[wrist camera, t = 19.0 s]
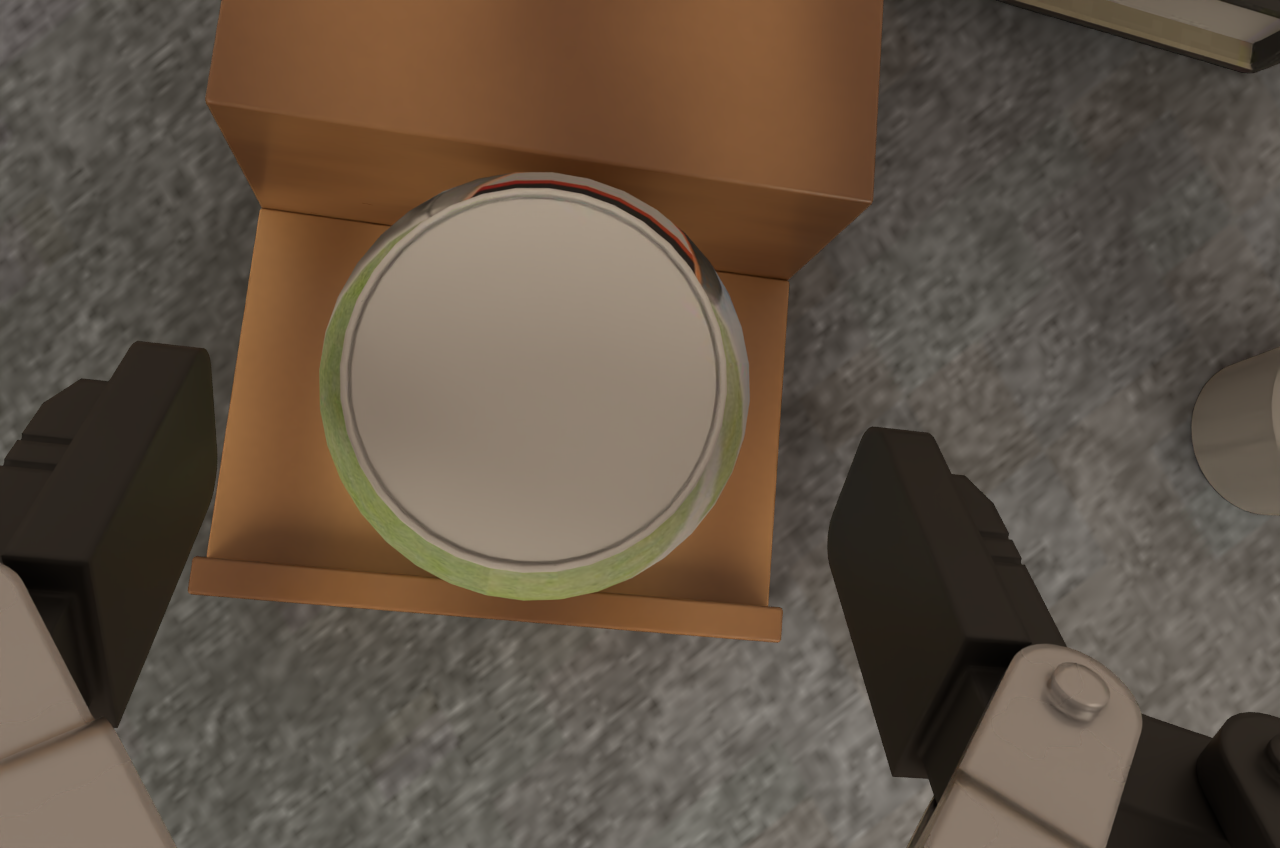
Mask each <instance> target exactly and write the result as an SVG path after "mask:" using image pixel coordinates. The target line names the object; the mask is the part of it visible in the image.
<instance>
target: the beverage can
mask: <svg viewBox="0 0 1280 848" xmlns="http://www.w3.org/2000/svg"><path fill="white" fill-rule="evenodd" d="M319 385H320V411H321V416H322V421H323V426H324V431H325V437H326V442H327V446H328V449H329V451H330V454H331V456H332V459H333V461H334V464H335V466H336V469H337V472H338V474H339V477H340V479H341V481H342V483H343V485H344V486H345V488H346V490H347V491H348V493H349V495H350V496H351V498H352V499H353V501H354V503H355V504H356V506H357V508H358V509H359V511H360V513H361V514H362V515H363V516H364V517H365V518H366V520H367V521H368V522H369V523H370V524H371V525H372V526H373V527H374V529H375V530H376V531H377V532H378V533H379V534H380V535H381V536H382V538H383V539H384V540H385V541H386V542H387V543H388V544H390V545H391V546H392V547H393V548H395V549H396V550H397V551H399V552H400V553H401V554H402V555H404V556H405V557H406V558H407V559H409V560H410V561H411V562H413V563H414V564H415V565H416V566H418V567H420V568H422V569H424V570H426V571H428V572H429V573H431V574H433V575H435V576H437V577H439V578H441V579H442V580H444V581H446V582H448V583H450V584H453V585H456V586H459V587H462V588H465V589H468V590H471V591H474V592H478V593H481V594H484V595H488V596H495V597H502V598H509V599H516V600H523V601H525V600H556V599H565V598H570V597H574V596H579V595H584V594H589V593H594V592H598V591H601V590H603V589H606V588H608V587H611V586H613V585H616V584H618V583H621V582H623V581H626V580H628V579H631V578H633V577H634V576H636V575H638V574H639V573H641V572H643V571H644V570H646V569H647V568H649V567H651V566H652V565H654V564H655V563H657V562H659V561H660V560H662V559H664V558H665V557H666V556H667V555H668V554H669V553H670V552H672V551H673V550H674V549H675V548H676V547H677V546H678V545H679V544H681V543H682V542H683V541H684V540H685V539H686V538H687V537H688V536H690V535H691V534H692V533H693V531H694V530H695V529H696V528H697V526H698V525H699V524H700V523H701V521H702V520H703V519H704V518H705V516H706V515H707V514H708V513H709V511H710V510H711V509H712V507H713V506H714V505H715V503H716V501H717V500H718V498H719V496H720V494H721V492H722V490H723V489H724V487H725V485H726V483H727V481H728V479H729V478H730V476H731V474H732V472H733V469H734V466H735V463H736V460H737V457H738V454H739V451H740V448H741V445H742V442H743V439H744V435H745V429H746V422H747V415H748V409H749V402H750V389H749V362H748V357H747V351H746V346H745V341H744V336H743V331H742V327H741V324H740V322H739V319H738V316H737V314H736V311H735V309H734V306H733V303H732V301H731V298H730V296H729V293H728V291H727V290H726V288H725V286H724V285H723V283H722V281H721V280H720V278H719V276H718V275H717V273H716V271H715V270H714V268H713V266H712V265H711V263H710V261H709V260H708V259H707V258H706V257H705V255H704V254H703V253H702V252H701V251H700V250H699V248H698V247H697V246H696V245H695V244H694V243H693V241H692V240H691V239H690V238H689V237H688V236H687V235H686V233H684V232H683V231H682V230H681V229H680V228H678V227H677V226H676V225H675V224H674V223H672V222H671V221H670V220H669V219H667V218H666V217H665V216H664V215H663V214H661V213H660V212H659V211H658V210H656V209H655V208H653V207H651V206H649V205H648V204H646V203H644V202H642V201H641V200H639V199H637V198H635V197H634V196H632V195H630V194H628V193H626V192H625V191H622V190H619V189H616V188H614V187H611V186H608V185H605V184H603V183H600V182H597V181H594V180H591V179H588V178H582V177H576V176H571V175H565V174H559V173H554V172H514V173H509V174H503V175H497V176H491V177H486V178H480V179H476V180H473V181H471V182H468V183H465V184H462V185H460V186H457V187H454V188H451V189H449V190H446V191H443V192H441V193H439V194H438V195H436V196H434V197H433V198H431V199H429V200H427V201H426V202H424V203H422V204H420V205H419V206H417V207H415V208H413V209H412V210H410V211H409V212H408V213H406V214H405V215H404V216H403V217H402V218H400V219H399V220H398V221H397V222H396V223H394V224H393V225H392V226H391V227H390V228H389V229H387V230H386V231H385V232H384V233H383V234H381V235H380V237H379V238H378V239H377V240H376V241H375V243H374V244H373V245H372V246H371V247H370V249H369V250H368V251H367V252H366V253H365V255H364V256H363V257H362V258H361V259H360V261H359V262H358V263H357V264H356V266H355V268H354V270H353V271H352V273H351V275H350V277H349V278H348V280H347V282H346V284H345V285H344V287H343V289H342V291H341V292H340V294H339V296H338V298H337V301H336V304H335V307H334V310H333V312H332V315H331V318H330V321H329V324H328V326H327V329H326V332H325V338H324V344H323V350H322V356H321V362H320V368H319Z"/></svg>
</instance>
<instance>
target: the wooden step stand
mask: <svg viewBox="0 0 1280 848" xmlns="http://www.w3.org/2000/svg"><path fill="white" fill-rule="evenodd" d="M883 2H884V0H221V6H220V12H219V18H218V24H217V30H216V36H215V42H214V49H213V55H212V61H211V67H210V73H209V79H208V85H207V91H206V97H205V101H206V104H207V106H208V107H209V109H210V111H211V113H212V115H213V117H214V119H215V121H216V122H217V124H218V126H219V128H220V130H221V132H222V134H223V136H224V138H225V139H226V141H227V143H228V145H229V147H230V149H231V151H232V153H233V154H234V156H235V158H236V160H237V162H238V164H239V166H240V168H241V169H242V171H243V173H244V175H245V177H246V179H247V181H248V183H249V184H250V186H251V188H252V190H253V192H254V194H255V196H256V198H257V199H258V201H259V203H260V205H261V207H262V209H260V212H259V218H258V225H257V231H256V238H255V244H254V251H253V257H252V264H251V270H250V277H249V283H248V290H247V296H246V303H245V309H244V316H243V322H242V329H241V335H240V342H239V349H238V355H237V362H236V368H235V375H234V381H233V388H232V394H231V401H230V407H229V414H228V420H227V427H226V433H225V440H224V446H223V453H222V459H221V466H220V472H219V479H218V485H217V492H216V498H215V505H214V512H213V518H212V525H211V531H210V538H209V544H208V551H207V557H200V556H196V557H194V558H193V560H192V566H191V573H190V579H189V586H188V592H189V593H190V594H193V595H205V596H218V597H230V598H242V599H254V600H266V601H278V602H290V603H302V604H315V605H327V606H339V607H351V608H363V609H375V610H387V611H400V612H412V613H424V614H436V615H448V616H460V617H472V618H485V619H497V620H509V621H521V622H533V623H545V624H557V625H569V626H582V627H594V628H606V629H618V630H630V631H642V632H654V633H667V634H679V635H691V636H703V637H715V638H727V639H739V640H751V641H764V642H776V643H778V642H780V640H781V631H782V616H783V610H782V608H780V607H770V606H768V600H769V585H770V569H771V554H772V539H773V524H774V508H775V493H776V478H777V463H778V448H779V432H780V417H781V402H782V387H783V371H784V356H785V341H786V326H787V310H788V295H789V282H788V280H789V279H790V278H791V277H792V276H793V275H794V274H795V273H797V272H798V271H799V270H800V269H801V268H802V267H803V266H804V265H805V264H806V263H807V262H809V261H810V260H811V259H812V258H813V257H814V256H815V255H816V254H817V253H818V252H820V251H821V250H822V249H823V248H824V247H825V246H826V245H827V244H828V243H829V242H831V241H832V240H833V239H834V238H835V237H836V236H837V235H838V234H839V233H840V232H842V231H843V230H844V229H845V228H846V227H847V226H848V225H849V224H850V223H851V222H852V221H854V220H855V219H856V218H857V217H858V216H859V215H860V214H861V213H862V212H863V211H865V210H866V209H867V208H868V207H869V206H870V205H871V204H872V202H873V191H874V172H875V154H876V135H877V116H878V97H879V78H880V59H881V40H882V21H883ZM514 172H554V173H559V174H565V175H571V176H576V177H582V178H588V179H591V180H594V181H597V182H600V183H603V184H605V185H608V186H611V187H614V188H616V189H619V190H622V191H625V192H626V193H628V194H630V195H632V196H634V197H635V198H637V199H639V200H641V201H642V202H644V203H646V204H648V205H649V206H651V207H653V208H655V209H656V210H658V211H659V212H660V213H661V214H663V215H664V216H665V217H666V218H667V219H669V220H670V221H671V222H672V223H674V224H675V225H676V226H677V227H678V228H680V229H681V230H682V231H683V232H684V233H686V235H687V236H688V237H689V238H690V239H691V240H692V241H693V243H694V244H695V245H696V246H697V247H698V248H699V250H700V251H701V252H702V253H703V254H704V255H705V257H706V258H707V259H708V260H709V261H710V263H711V265H712V266H713V268H714V270H715V271H716V273H717V275H718V276H719V278H720V280H721V281H722V283H723V285H724V286H725V288H726V290H727V291H728V293H729V296H730V298H731V301H732V303H733V306H734V309H735V311H736V314H737V316H738V319H739V322H740V324H741V327H742V331H743V336H744V341H745V346H746V351H747V357H748V362H749V389H750V402H749V409H748V415H747V422H746V429H745V435H744V439H743V442H742V445H741V448H740V451H739V454H738V457H737V460H736V463H735V466H734V469H733V472H732V474H731V476H730V478H729V479H728V481H727V483H726V485H725V487H724V489H723V490H722V492H721V494H720V496H719V498H718V500H717V501H716V503H715V505H714V506H713V507H712V509H711V510H710V511H709V513H708V514H707V515H706V516H705V518H704V519H703V520H702V521H701V523H700V524H699V525H698V526H697V528H696V529H695V530H694V531H693V533H692V534H691V535H690V536H688V537H687V538H686V539H685V540H684V541H683V542H682V543H681V544H679V545H678V546H677V547H676V548H675V549H674V550H673V551H672V552H670V553H669V554H668V555H667V556H666V557H665V558H664V559H662V560H660V561H659V562H657V563H655V564H654V565H652V566H651V567H649V568H647V569H646V570H644V571H643V572H641V573H639V574H638V575H636V576H634V577H633V578H631V579H628V580H626V581H623V582H621V583H618V584H616V585H613V586H611V587H608V588H606V589H603V590H601V591H598V592H594V593H589V594H584V595H579V596H574V597H570V598H565V599H556V600H525V601H523V600H516V599H509V598H502V597H495V596H488V595H484V594H481V593H478V592H474V591H471V590H468V589H465V588H462V587H459V586H456V585H453V584H450V583H448V582H446V581H444V580H442V579H441V578H439V577H437V576H435V575H433V574H431V573H429V572H428V571H426V570H424V569H422V568H420V567H418V566H416V565H415V564H414V563H413V562H411V561H410V560H409V559H407V558H406V557H405V556H404V555H402V554H401V553H400V552H399V551H397V550H396V549H395V548H393V547H392V546H391V545H390V544H388V543H387V542H386V541H385V540H384V539H383V538H382V536H381V535H380V534H379V533H378V532H377V531H376V530H375V529H374V527H373V526H372V525H371V524H370V523H369V522H368V521H367V520H366V518H365V517H364V516H363V515H362V514H361V513H360V511H359V509H358V508H357V506H356V504H355V503H354V501H353V499H352V498H351V496H350V495H349V493H348V491H347V490H346V488H345V486H344V485H343V483H342V481H341V479H340V477H339V474H338V472H337V469H336V466H335V464H334V461H333V459H332V456H331V454H330V451H329V449H328V446H327V442H326V437H325V431H324V426H323V421H322V416H321V411H320V385H319V368H320V362H321V356H322V350H323V344H324V338H325V332H326V329H327V326H328V324H329V321H330V318H331V315H332V312H333V310H334V307H335V304H336V301H337V298H338V296H339V294H340V292H341V291H342V289H343V287H344V285H345V284H346V282H347V280H348V278H349V277H350V275H351V273H352V271H353V270H354V268H355V266H356V264H357V263H358V262H359V261H360V259H361V258H362V257H363V256H364V255H365V253H366V252H367V251H368V250H369V249H370V247H371V246H372V245H373V244H374V243H375V241H376V240H377V239H378V238H379V237H380V235H381V234H383V233H384V232H385V231H386V230H387V229H389V228H390V227H391V226H392V225H393V224H394V223H396V222H397V221H398V220H399V219H400V218H402V217H403V216H404V215H405V214H406V213H408V212H409V211H410V210H412V209H413V208H415V207H417V206H419V205H420V204H422V203H424V202H426V201H427V200H429V199H431V198H433V197H434V196H436V195H438V194H439V193H441V192H443V191H446V190H449V189H451V188H454V187H457V186H460V185H462V184H465V183H468V182H471V181H473V180H476V179H480V178H486V177H491V176H497V175H503V174H509V173H514Z"/></svg>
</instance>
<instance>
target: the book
mask: <svg viewBox="0 0 1280 848" xmlns="http://www.w3.org/2000/svg"><path fill="white" fill-rule="evenodd" d="M997 1H1000V2H1003V3H1007V4H1010V5H1014V6H1017V7H1021V8H1024V9H1027V10H1031V11H1034V12H1038V13H1041V14H1044V15H1048V16H1051V17H1055V18H1058V19H1061V20H1065V21H1068V22H1072V23H1075V24H1079V25H1082V26H1085V27H1089V28H1092V29H1096V30H1099V31H1102V32H1106V33H1109V34H1113V35H1116V36H1119V37H1123V38H1126V39H1130V40H1133V41H1137V42H1140V43H1143V44H1147V45H1150V46H1154V47H1157V48H1160V49H1164V50H1167V51H1171V52H1174V53H1177V54H1181V55H1184V56H1188V57H1191V58H1194V59H1198V60H1201V61H1205V62H1208V63H1212V64H1215V65H1218V66H1222V67H1225V68H1229V69H1232V70H1235V71H1239V72H1242V73H1255V72H1258V71H1261V70H1264V69H1266V68H1269V67H1272V66H1274V65H1276V64H1278V63H1280V0H997Z"/></svg>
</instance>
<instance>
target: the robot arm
mask: <svg viewBox="0 0 1280 848" xmlns="http://www.w3.org/2000/svg"><path fill="white" fill-rule="evenodd" d="M216 471H217V443H216V428H215V414H214V400H213V386H212V372H211V362H210V357H209V354H208V352H207V350H206V349H204V348H195V347H187V346H178V345H169V344H160V343H152V342H143V341H136V342H135V343H133V344H132V346H131V347H130V348H129V350H128V352H127V353H126V355H125V356H124V358H123V360H122V361H121V363H120V364H119V366H118V368H117V369H116V371H115V372H114V374H113V376H112V377H111V379H110V380H109V381H100V380H91V379H80V380H78V381H77V382H75V383H74V384H72V385H71V386H69V387H67V388H66V389H64V390H63V391H61V392H60V393H58V394H57V395H55V396H53V397H52V398H50V399H49V400H47V401H46V402H44V403H43V404H42V405H41V407H40V408H39V410H38V411H37V413H36V414H35V416H34V417H33V418H32V420H31V421H30V423H29V424H28V426H27V427H26V429H25V430H24V431H23V433H22V439H21V440H17V442H16V443H15V444H14V446H13V447H12V449H11V450H10V452H9V453H8V455H7V456H6V457H5V459H4V465H3V466H0V848H177V847H176V845H175V843H174V841H173V839H172V837H171V835H170V834H169V832H168V830H167V828H166V826H165V824H164V822H163V820H162V818H161V816H160V815H159V813H158V811H157V809H156V807H155V805H154V803H153V801H152V799H151V798H150V796H149V794H148V792H147V790H146V788H145V786H144V784H143V782H142V780H141V779H140V777H139V775H138V773H137V771H136V769H135V767H134V765H133V763H132V761H131V760H130V758H129V756H128V754H127V752H126V750H125V748H124V746H123V744H122V743H121V741H120V739H119V737H118V735H117V733H116V732H115V730H114V728H118V725H119V723H120V721H121V718H122V716H123V713H124V711H125V709H126V706H127V704H128V701H129V699H130V696H131V694H132V692H133V689H134V687H135V684H136V682H137V679H138V677H139V675H140V672H141V670H142V667H143V665H144V663H145V660H146V658H147V655H148V653H149V650H150V648H151V646H152V643H153V641H154V638H155V636H156V634H157V631H158V629H159V626H160V624H161V621H162V619H163V617H164V614H165V612H166V609H167V607H168V604H169V602H170V600H171V597H172V595H173V592H174V590H175V588H176V585H177V583H178V580H179V578H180V575H181V573H182V571H183V568H184V566H185V563H186V561H187V559H188V556H189V554H190V551H191V549H192V546H193V544H194V542H195V539H196V537H197V534H198V532H199V529H200V527H201V525H202V522H203V520H204V517H205V515H206V513H207V510H208V508H209V505H210V502H211V499H212V495H213V491H214V486H215V480H216ZM1008 536H1009V533H1008V531H1007V529H1006V527H1005V525H1004V523H1003V521H1002V519H1001V517H1000V515H999V513H998V511H997V509H996V508H995V506H994V504H993V503H992V502H991V501H990V500H989V499H988V498H987V497H986V496H985V495H984V494H983V493H982V492H981V491H980V490H979V489H978V488H977V487H976V486H975V485H974V484H973V483H972V482H971V481H970V480H969V479H968V478H967V477H966V476H964V475H955V474H951V472H950V470H949V468H948V466H947V464H946V462H945V459H944V457H943V455H942V453H941V451H940V449H939V447H938V445H937V443H936V441H935V439H934V437H933V436H932V435H931V434H929V433H926V432H917V431H908V430H900V429H891V428H882V427H870V428H869V429H868V430H867V431H866V432H865V433H864V435H863V437H862V439H861V441H860V444H859V446H858V449H857V452H856V454H855V457H854V459H853V462H852V465H851V467H850V470H849V472H848V475H847V478H846V480H845V483H844V486H843V488H842V491H841V493H840V496H839V499H838V501H837V504H836V507H835V509H834V512H833V515H832V518H831V521H830V526H829V532H828V559H829V564H830V568H831V572H832V575H833V578H834V582H835V585H836V588H837V592H838V595H839V599H840V602H841V605H842V609H843V612H844V615H845V619H846V622H847V626H848V629H849V632H850V636H851V639H852V642H853V646H854V649H855V652H856V656H857V659H858V663H859V666H860V669H861V673H862V676H863V679H864V683H865V686H866V689H867V693H868V696H869V700H870V703H871V706H872V710H873V713H874V716H875V720H876V723H877V726H878V730H879V733H880V737H881V740H882V743H883V747H884V750H885V753H886V757H887V760H888V763H889V767H890V770H891V774H892V777H908V778H925V779H929V782H930V785H931V788H932V791H933V794H934V796H933V798H932V800H931V801H930V803H929V805H928V806H927V808H926V810H925V812H924V814H923V816H922V818H921V820H920V822H919V824H918V826H917V828H916V830H915V831H914V833H913V835H912V837H911V839H910V841H909V843H908V845H907V847H906V848H1280V718H1278V717H1275V716H1271V715H1268V714H1263V713H1255V712H1246V713H1239V714H1237V715H1234V716H1232V717H1231V718H1229V719H1228V720H1227V721H1226V722H1225V723H1224V725H1223V726H1222V727H1221V728H1220V730H1219V731H1218V732H1217V733H1216V735H1215V736H1214V737H1213V738H1211V737H1208V736H1205V735H1202V734H1199V733H1196V732H1193V731H1190V730H1187V729H1184V728H1181V727H1178V726H1175V725H1172V724H1169V723H1166V722H1163V721H1161V720H1158V719H1155V718H1152V717H1149V716H1146V715H1144V714H1141V711H1140V708H1139V705H1138V703H1137V701H1136V700H1135V698H1134V696H1133V694H1132V693H1131V692H1130V690H1129V689H1128V687H1127V686H1126V685H1125V684H1124V683H1123V682H1122V681H1121V680H1120V678H1118V677H1117V676H1116V675H1115V674H1114V673H1113V672H1112V671H1111V670H1109V669H1108V668H1107V667H1105V666H1104V665H1103V664H1101V663H1100V662H1098V661H1096V660H1095V659H1093V658H1091V657H1090V656H1087V655H1085V654H1083V653H1081V652H1079V651H1076V650H1073V649H1071V648H1068V647H1067V646H1066V644H1065V642H1064V640H1063V638H1062V636H1061V634H1060V632H1059V630H1058V628H1057V627H1056V625H1055V623H1054V621H1053V619H1052V617H1051V615H1050V613H1049V611H1048V609H1047V607H1046V605H1045V603H1044V601H1043V599H1042V597H1041V595H1040V593H1039V591H1038V589H1037V587H1036V586H1035V584H1034V582H1033V580H1032V578H1031V576H1030V574H1029V572H1028V570H1027V568H1026V566H1025V565H1022V564H1021V559H1022V558H1021V556H1020V554H1019V552H1018V550H1017V548H1016V547H1015V545H1014V543H1013V541H1012V540H1009V539H1008Z"/></svg>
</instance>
